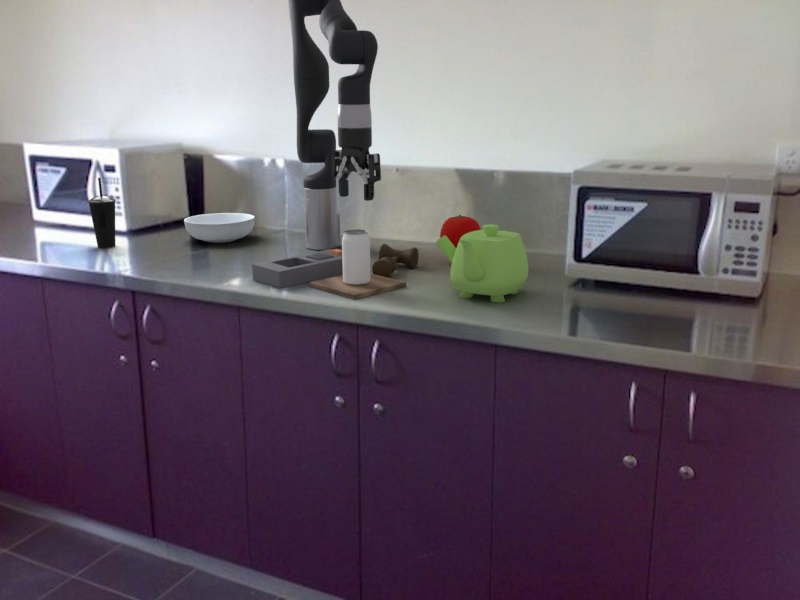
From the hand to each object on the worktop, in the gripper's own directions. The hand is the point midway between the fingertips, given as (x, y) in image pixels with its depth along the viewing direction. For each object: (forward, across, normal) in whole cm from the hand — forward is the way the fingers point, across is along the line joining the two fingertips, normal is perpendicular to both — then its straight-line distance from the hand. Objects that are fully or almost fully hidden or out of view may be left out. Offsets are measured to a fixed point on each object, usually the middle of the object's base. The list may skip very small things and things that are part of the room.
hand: (356, 198), depth 179 cm
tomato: (+21, -1, -35) cm, 41 cm away
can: (+20, 0, 0) cm, 20 cm away
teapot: (+21, -24, -14) cm, 35 cm away
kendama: (+21, +6, -18) cm, 28 cm away
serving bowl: (+21, +71, -7) cm, 74 cm away
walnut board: (+21, 0, 0) cm, 21 cm away
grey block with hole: (+21, +17, +2) cm, 27 cm away
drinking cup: (+21, +86, +22) cm, 91 cm away
